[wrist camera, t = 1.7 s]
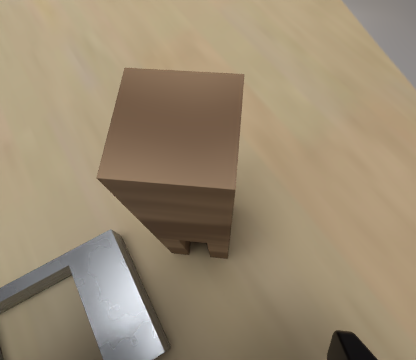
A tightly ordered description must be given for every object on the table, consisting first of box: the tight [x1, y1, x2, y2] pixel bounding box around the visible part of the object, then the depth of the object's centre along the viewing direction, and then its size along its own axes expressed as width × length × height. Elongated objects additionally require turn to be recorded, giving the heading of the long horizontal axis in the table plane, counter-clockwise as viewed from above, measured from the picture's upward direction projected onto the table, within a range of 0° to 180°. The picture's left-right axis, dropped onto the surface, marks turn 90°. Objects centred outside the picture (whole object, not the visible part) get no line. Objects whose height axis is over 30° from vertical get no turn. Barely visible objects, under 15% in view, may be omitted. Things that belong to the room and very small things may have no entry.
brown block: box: [97, 68, 244, 259], centre depth 15 cm, size 4×4×13 cm
